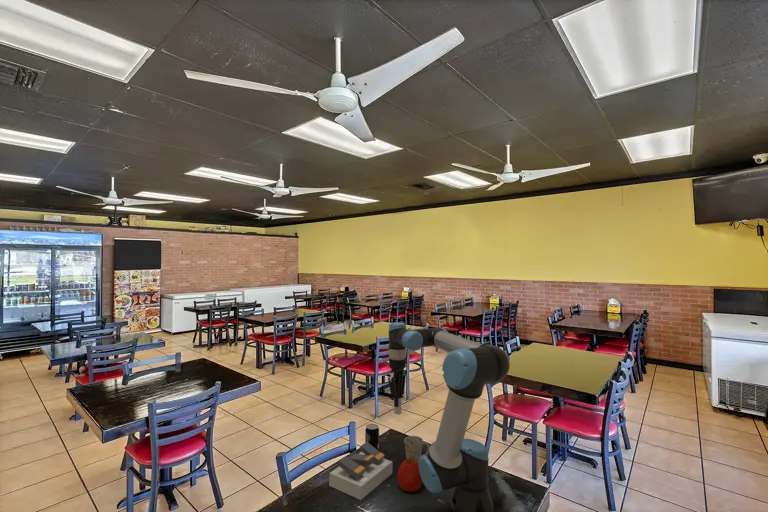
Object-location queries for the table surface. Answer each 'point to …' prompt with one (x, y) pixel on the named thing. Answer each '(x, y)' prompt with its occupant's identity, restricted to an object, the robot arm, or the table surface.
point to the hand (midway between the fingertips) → (397, 413)
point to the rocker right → (372, 452)
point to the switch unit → (360, 479)
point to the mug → (414, 447)
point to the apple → (409, 476)
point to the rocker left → (351, 467)
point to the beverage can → (372, 435)
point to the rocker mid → (363, 459)
